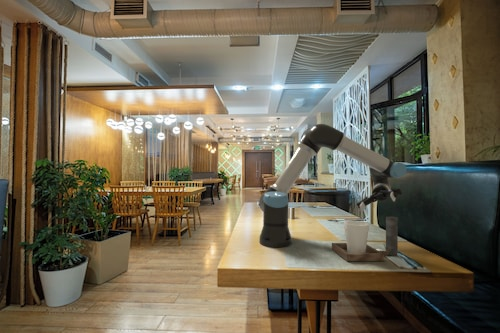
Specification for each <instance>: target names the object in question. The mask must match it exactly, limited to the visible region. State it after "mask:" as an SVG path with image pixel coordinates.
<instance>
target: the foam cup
mask: <svg viewBox="0 0 500 333" xmlns="http://www.w3.org/2000/svg"><path fill="white" fill-rule="evenodd" d="M343 229H344V235H345V243H347V250H346V252H347V253H366V245H368V244H367V242H368V239H369V238H368V237H369V231H370V224H369V222H366V221H359V220H345V221H343Z"/></svg>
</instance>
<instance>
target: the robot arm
mask: <svg viewBox="0 0 500 333" xmlns="http://www.w3.org/2000/svg"><path fill="white" fill-rule="evenodd" d="M322 148H326V149H329V150H331V151H338V152H340V153H342V154H344V155H346V156H348V157H350V158H352V159H354V160H356V161H358V162H360V163H362V164H363V165H365V166H367V167H368V170H369V173H370V176H371V179H372V184H373V186H374V187H373V189H372V192H371V195H369V196H365V197H364V198H362V199H361V200H360V201H359V202H356V206H357V208H358V209H360V210H361V212H362V213H363V212H365V210H366V207H367V206H369V205H370V204H373V203H375V202H378V201H379V202H384V201H386V200H387V199H388V198H391V201H393V203H394V202H396V198H398V197H399V196H401V195H403V194H404V193H403V192H402V190H401V188H396V187H392V185H391V183H390V181H389V179H390V178H391V179H399V178H403V177H404V176H406V173H407V166H406V165H405V164H404V163H403V162H399V161H396V162H395V161H393V160H391V159H389V158H387V157H385V156H384V155H382V154H379V153H377V152H376V151H374V150H372V149H370V148H368V147H366V146H364V145H362V144H361V143H359V142H357V141H355V140H354V139H351V138H350V137H348V136H345V133H344V132H342V131H340V130H339V129H337V128H335V127H333V126H330V125H328V124H325V123H317V124H315V125H313V126H311V127H309V128H306V129H305V130H304V131H303V133H301V137H300V140H299V141H298V143H297V149H296V151H295V152H294V154H293V155H292V157H291V158H290V160H289V161H288V163H287V164H286V165H285V167H284V169H283V170H282V172H281V173H280V175H279V176H278V178H277V179H276V181H275V182H274V184H271V185H269V186H268V188H267V189H266V191H265V192H264V193H262V194H261V196H260V198H259V202H258V204H259V208H260V210H261V211H262V212H263V215H262V216H263V220H262V221H263V222H262V223H263V224H262V225H263V226H262V229H261V233H260V235H259V243H260V245H262V246H265V247H269V248H270V247H271V248H285V247H288V246H291V245H292V244H293V243H292V241H293V239H292V238H293V237H292V236H291V235H292V234H291V232H290V228H289V203H290V201H289V195H288V194H289V193H290V190H291V189H292V188H293V186H294V184H295V183H296V181H297V180H298V178H299V177H300V175H301V174H302V172H303V171H304V170H305V168H306V166H307V164H309V161H311V159H312V157H315V156H317V154H318V153H319V152H320V150H321V149H322Z"/></svg>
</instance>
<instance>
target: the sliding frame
mask: <svg viewBox="0 0 500 333" xmlns="http://www.w3.org/2000/svg"><path fill="white" fill-rule="evenodd" d="M398 219H399V218H398V217H395V216H385V249H384V250H377V248H374V247H372V246H371V245H369V244H367V245H366V251H365V253H348V251H347V243H346V242H331V250H333V252H335V253H336V254H337V255H339V256H340V257H341V258H343V259H344V260H345V261H346V262H382V261H383V262H385V255H386V256H388V255H389V256H398V251H399V250H398V247H399V245H398V243H399V242H398V239H399V238H398V234H399V232H398V228H399V226H398V225H399V224H398V222H399V220H398Z"/></svg>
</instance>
